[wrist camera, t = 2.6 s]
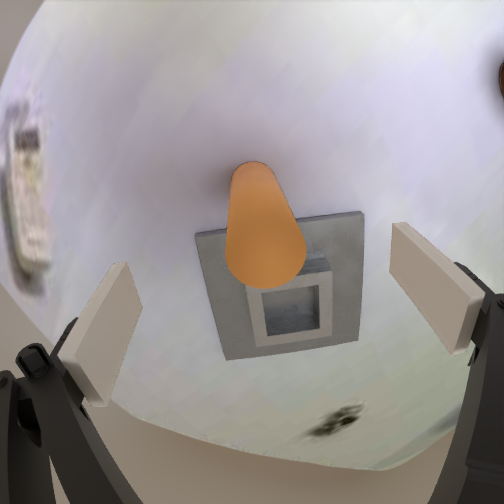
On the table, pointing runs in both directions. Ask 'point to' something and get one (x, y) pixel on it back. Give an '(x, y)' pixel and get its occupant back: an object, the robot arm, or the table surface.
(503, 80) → the coffee cup
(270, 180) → the pin
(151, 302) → the table surface
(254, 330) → the grey square socket base
